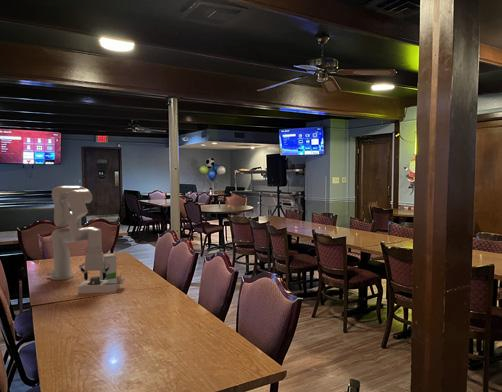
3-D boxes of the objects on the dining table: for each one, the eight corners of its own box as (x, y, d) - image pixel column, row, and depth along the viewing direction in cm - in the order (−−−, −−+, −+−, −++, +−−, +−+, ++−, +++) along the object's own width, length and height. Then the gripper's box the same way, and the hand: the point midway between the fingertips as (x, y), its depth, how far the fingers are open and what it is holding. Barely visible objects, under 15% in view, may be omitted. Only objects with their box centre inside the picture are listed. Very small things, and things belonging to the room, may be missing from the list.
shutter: (105, 284, 217) (105, 277, 217) (109, 280, 226) (108, 273, 226) (121, 283, 218) (121, 276, 218) (124, 279, 228) (124, 272, 227)
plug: (89, 291, 217) (89, 279, 217) (92, 288, 224) (92, 276, 223) (96, 291, 218) (96, 279, 217) (99, 288, 224) (99, 276, 224)
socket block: (78, 293, 214) (78, 286, 214) (84, 287, 226) (84, 280, 225) (115, 292, 217) (115, 285, 217) (119, 286, 229) (119, 279, 228)
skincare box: (105, 281, 239) (104, 256, 238) (99, 279, 243) (99, 255, 242) (117, 278, 245) (116, 254, 244) (111, 277, 249) (110, 253, 248)
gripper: (76, 251, 215) (77, 281, 216) (109, 251, 218) (109, 280, 219) (80, 249, 223) (81, 278, 224) (111, 248, 225) (112, 277, 226)
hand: (95, 279), depth 221 cm, fingers open, 9 cm apart
